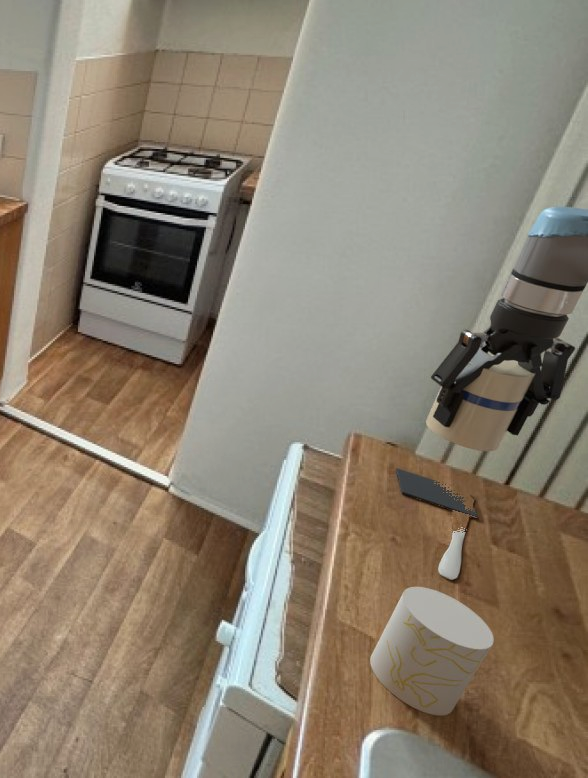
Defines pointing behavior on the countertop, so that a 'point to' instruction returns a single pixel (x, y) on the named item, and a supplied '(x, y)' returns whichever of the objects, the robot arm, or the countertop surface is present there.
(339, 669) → the countertop surface
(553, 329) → the robot arm
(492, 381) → the blue-striped cream cylinder
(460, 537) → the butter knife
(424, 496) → the mat
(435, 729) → the countertop surface
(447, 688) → the cup
